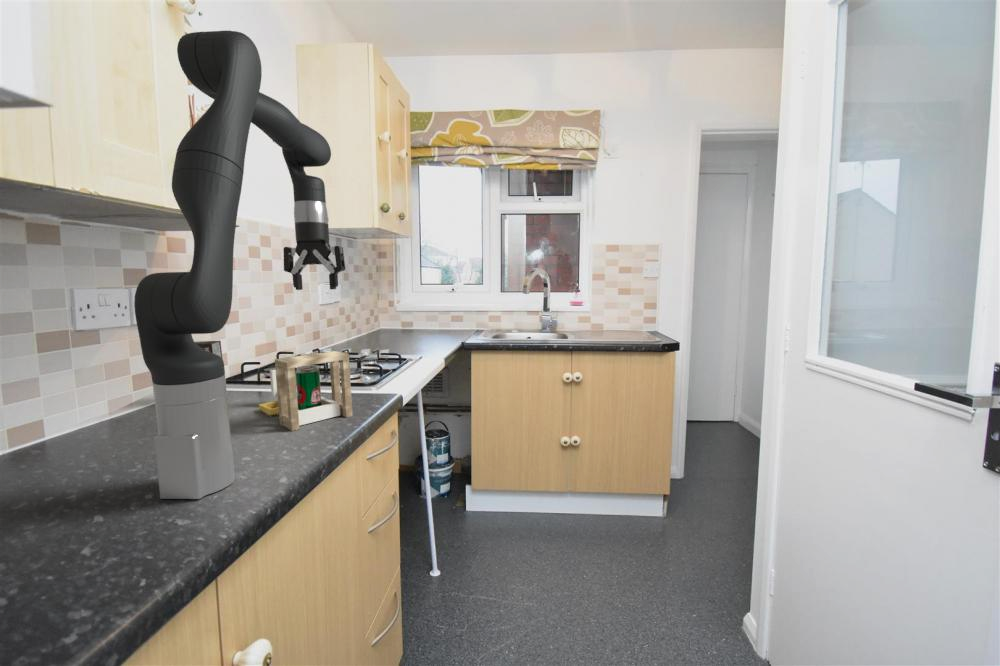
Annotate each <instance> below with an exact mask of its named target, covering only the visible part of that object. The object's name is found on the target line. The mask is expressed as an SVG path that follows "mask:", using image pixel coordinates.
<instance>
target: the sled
mask: <svg viewBox="0 0 1000 666" xmlns="http://www.w3.org/2000/svg"><path fill="white" fill-rule="evenodd" d="M269 378H270V387H271V388H270V389H271V392H270V393H271V396H273V397H278V394H277V382H276V370H275V369H270V370H269ZM321 402H322V406H317V407H313V408H308V409H304V410H298V417H299V427H300V426H304V425H307V424H311V423H312V424H313V423H315V422H319V421H324V420H328V419H331V418H334V417H335V418H336V417H339V416H341V415H340V403H338V402H335V401H333V400H332V399H330V398H327V397H324V396H321ZM297 404H298V400H297Z"/></svg>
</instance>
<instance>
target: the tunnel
mask: <svg viewBox="0 0 1000 666" xmlns="http://www.w3.org/2000/svg"><path fill="white" fill-rule="evenodd" d="M326 363H329V369H330V370H329V371H330V383H331V400H333V401H335V402H338V403H340V416H342V417H344V418H350V417H353V416H354V415H353V414H354V413H353V401H352V387H351V386H352V384H351V370H350V369H351V368H350V353H349V352H348V353H347V352H342V351H336V350H331V351H325V352H319V353H310V354H304V355H298V356H297V355H296V356H289V357H282V358H276V359H274V368H275V369H274V370H276V382H277V394H278V396H277V401H278V407H279V415H278V418H279V419H278V420H279V426H281V425H282V426H281V427H284V426H285V427H284V428H286V427H287V429H288V430H289V431H291V432H295V431H294V430H296V431H299V430H300V426H299V417H298V404H297V387H296V373H295V372H296V368H297V367H301V366H307V365H318V364H326ZM298 429H299V430H298Z"/></svg>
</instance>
